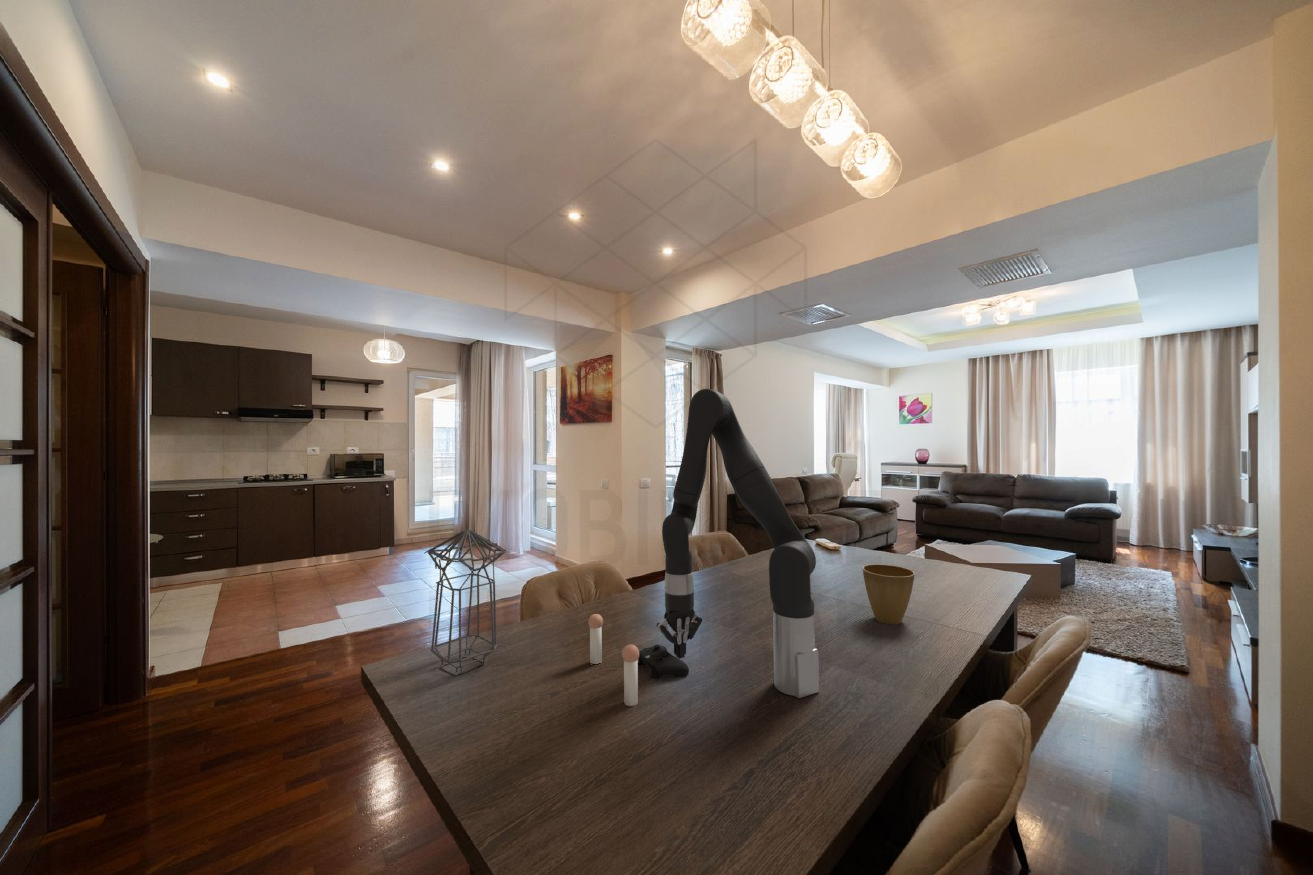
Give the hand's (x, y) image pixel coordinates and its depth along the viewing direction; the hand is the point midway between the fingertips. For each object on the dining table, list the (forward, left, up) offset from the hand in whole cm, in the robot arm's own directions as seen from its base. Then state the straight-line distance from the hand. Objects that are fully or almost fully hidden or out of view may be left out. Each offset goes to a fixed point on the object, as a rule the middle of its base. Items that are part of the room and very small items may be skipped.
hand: (680, 656), depth 123 cm
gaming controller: (0, +6, -2) cm, 6 cm away
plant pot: (-6, -73, -2) cm, 73 cm away
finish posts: (0, +19, -2) cm, 19 cm away
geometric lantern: (+25, +49, -2) cm, 55 cm away
